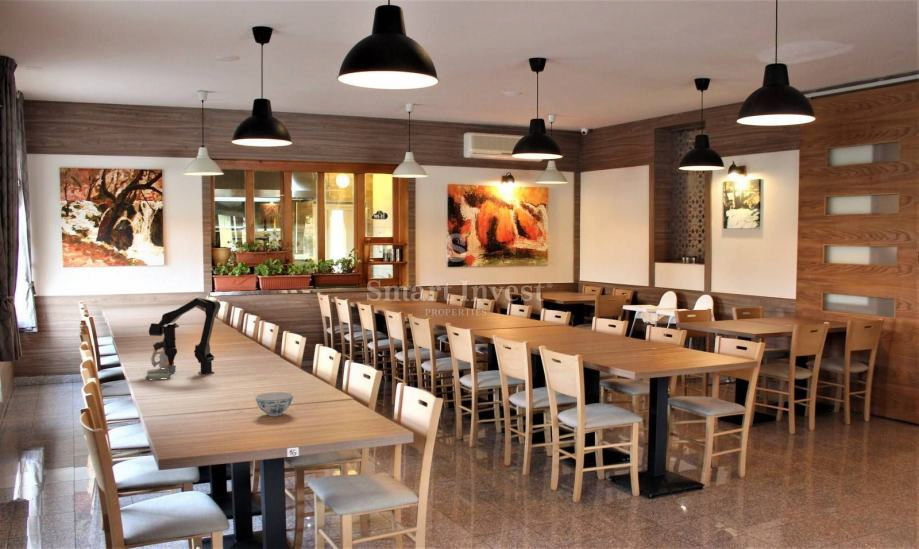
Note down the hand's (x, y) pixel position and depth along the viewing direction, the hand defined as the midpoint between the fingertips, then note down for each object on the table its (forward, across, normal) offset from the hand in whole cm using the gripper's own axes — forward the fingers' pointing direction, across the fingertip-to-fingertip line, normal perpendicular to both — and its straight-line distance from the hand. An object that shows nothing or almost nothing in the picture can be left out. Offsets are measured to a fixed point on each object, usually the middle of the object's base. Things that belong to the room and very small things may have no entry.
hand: (170, 364), depth 421 cm
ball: (-1, 0, 0) cm, 1 cm away
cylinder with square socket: (+4, 0, 0) cm, 4 cm away
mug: (+4, -17, -3) cm, 18 cm away
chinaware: (+5, +124, +34) cm, 129 cm away
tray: (+4, +12, -7) cm, 15 cm away
